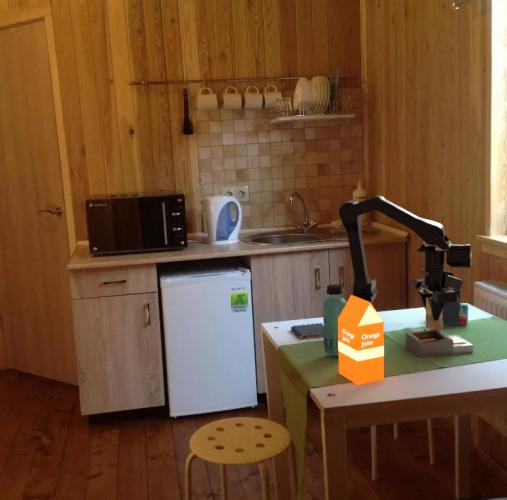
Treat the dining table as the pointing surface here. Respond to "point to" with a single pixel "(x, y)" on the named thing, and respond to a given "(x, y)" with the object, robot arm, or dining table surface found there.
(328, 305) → the beverage bottle
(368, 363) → the orange juice
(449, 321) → the vaping device
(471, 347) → the box
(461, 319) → the yogurt
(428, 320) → the tan wooden block
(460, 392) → the dining table surface
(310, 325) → the woven mat
